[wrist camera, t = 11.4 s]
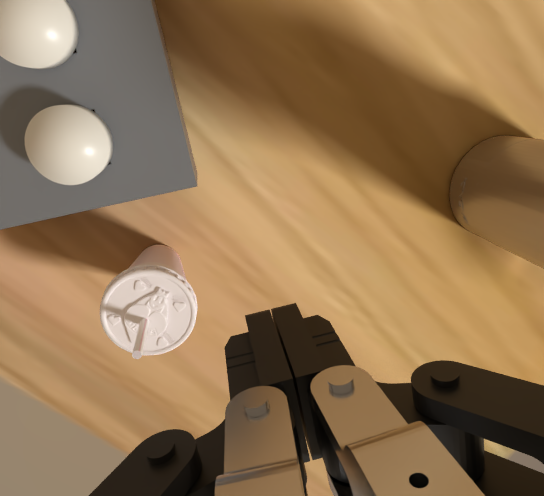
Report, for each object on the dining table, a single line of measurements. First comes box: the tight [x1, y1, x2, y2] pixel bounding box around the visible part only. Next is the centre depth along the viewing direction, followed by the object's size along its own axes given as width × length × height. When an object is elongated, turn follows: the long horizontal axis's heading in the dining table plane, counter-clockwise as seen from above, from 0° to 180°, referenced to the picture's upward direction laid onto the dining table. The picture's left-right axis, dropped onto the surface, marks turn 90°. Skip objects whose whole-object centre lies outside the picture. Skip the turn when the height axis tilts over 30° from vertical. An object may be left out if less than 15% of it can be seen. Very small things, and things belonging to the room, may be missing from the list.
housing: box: [0, 0, 197, 230], centre depth 31 cm, size 14×23×6 cm, turn 11°
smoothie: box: [100, 245, 198, 359], centre depth 34 cm, size 6×6×14 cm
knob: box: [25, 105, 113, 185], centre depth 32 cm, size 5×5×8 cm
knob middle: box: [0, 0, 79, 69], centre depth 30 cm, size 5×5×8 cm
